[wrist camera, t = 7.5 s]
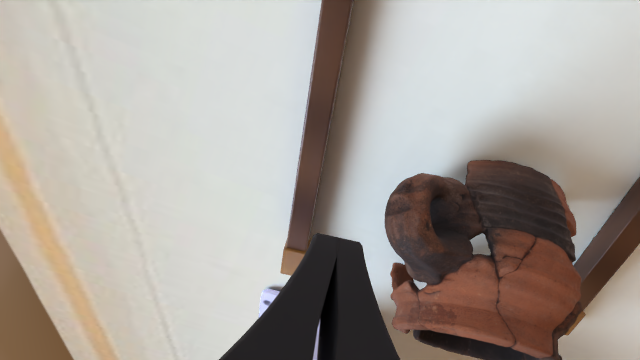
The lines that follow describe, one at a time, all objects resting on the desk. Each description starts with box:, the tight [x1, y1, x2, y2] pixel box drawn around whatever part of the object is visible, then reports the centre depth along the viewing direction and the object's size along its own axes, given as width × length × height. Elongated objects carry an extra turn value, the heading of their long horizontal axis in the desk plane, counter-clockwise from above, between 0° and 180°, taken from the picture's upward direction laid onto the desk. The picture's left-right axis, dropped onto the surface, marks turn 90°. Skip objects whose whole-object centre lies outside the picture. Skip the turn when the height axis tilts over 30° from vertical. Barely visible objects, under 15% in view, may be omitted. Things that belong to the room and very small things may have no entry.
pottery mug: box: [385, 160, 582, 360], centre depth 19 cm, size 12×10×8 cm
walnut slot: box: [281, 0, 640, 335], centre depth 18 cm, size 20×18×1 cm
